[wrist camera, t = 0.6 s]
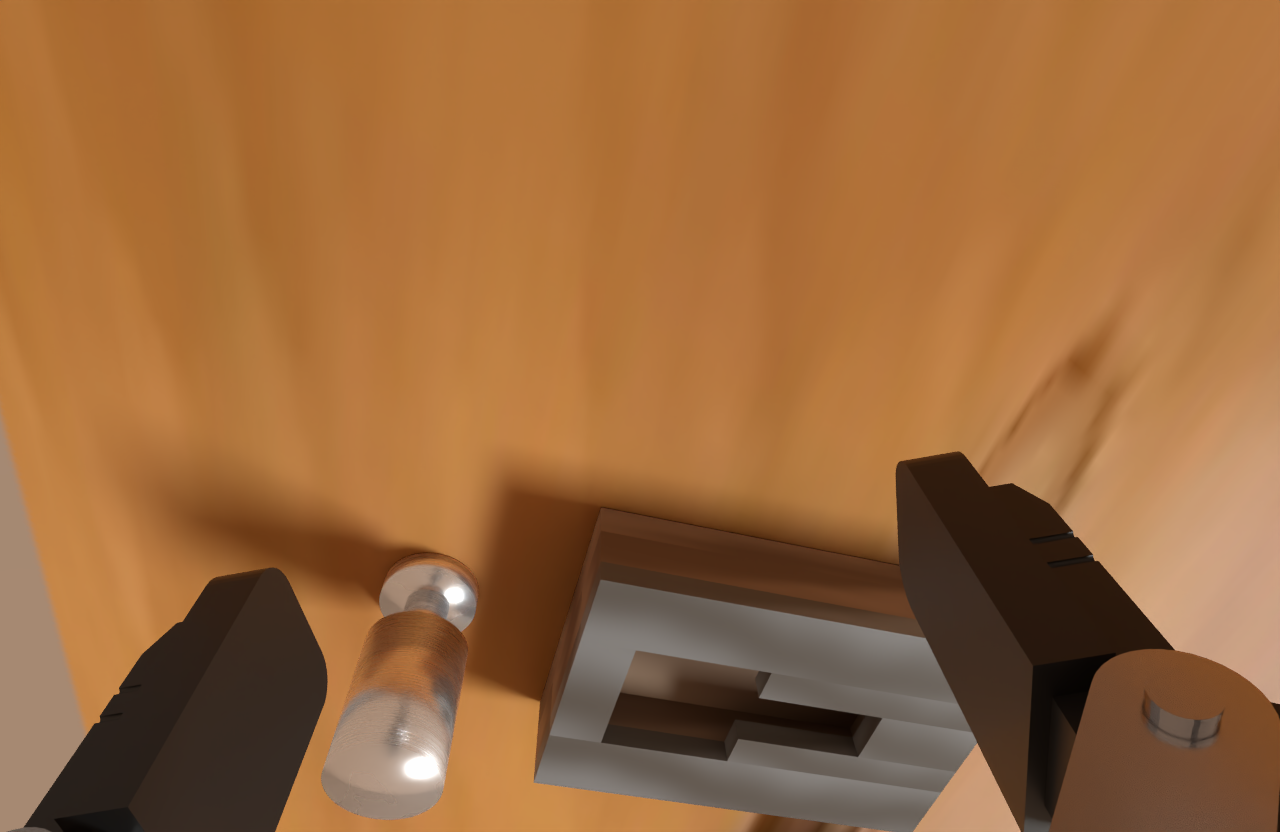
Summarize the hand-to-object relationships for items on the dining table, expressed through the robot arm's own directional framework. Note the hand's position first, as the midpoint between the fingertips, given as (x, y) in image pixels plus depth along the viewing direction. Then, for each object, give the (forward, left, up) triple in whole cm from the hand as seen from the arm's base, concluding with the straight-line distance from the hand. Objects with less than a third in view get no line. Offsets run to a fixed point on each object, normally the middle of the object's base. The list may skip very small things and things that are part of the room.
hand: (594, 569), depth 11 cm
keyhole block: (+19, +12, -19) cm, 30 cm away
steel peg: (+19, -3, -19) cm, 27 cm away
